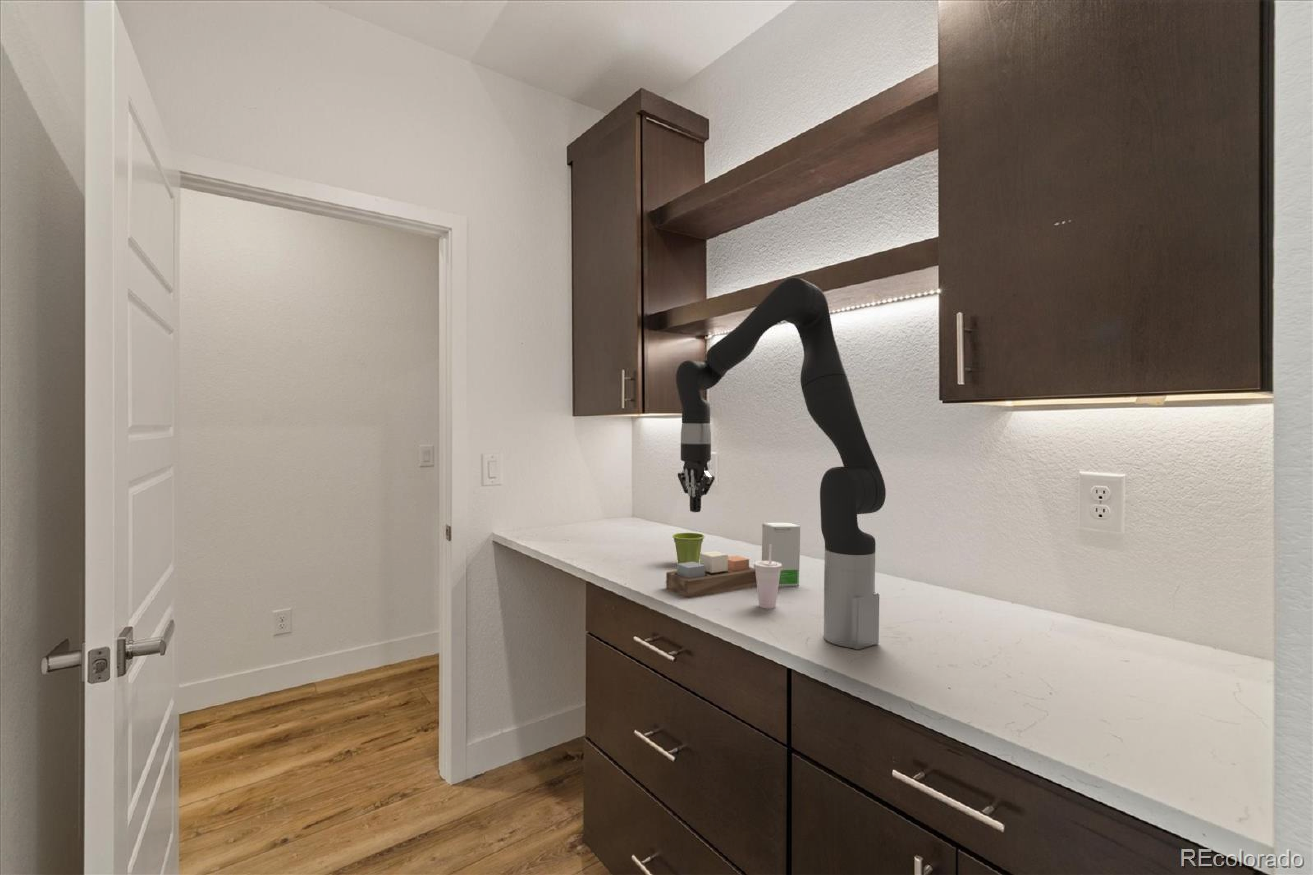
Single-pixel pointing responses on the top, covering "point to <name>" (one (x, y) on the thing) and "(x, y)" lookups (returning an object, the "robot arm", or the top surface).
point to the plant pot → (688, 546)
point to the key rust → (737, 563)
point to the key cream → (714, 561)
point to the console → (711, 582)
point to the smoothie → (767, 581)
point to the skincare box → (783, 550)
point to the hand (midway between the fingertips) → (695, 511)
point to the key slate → (690, 570)
